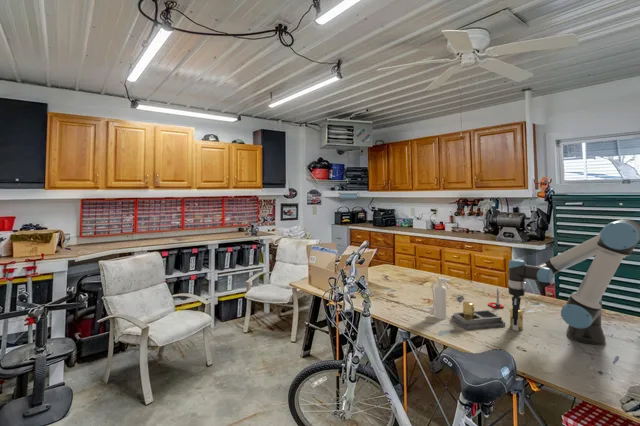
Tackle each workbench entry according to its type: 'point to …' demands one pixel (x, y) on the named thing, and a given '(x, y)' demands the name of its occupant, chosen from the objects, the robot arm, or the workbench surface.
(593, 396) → the workbench surface
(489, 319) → the housing
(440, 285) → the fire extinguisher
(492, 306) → the tow hook
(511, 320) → the sleeve
